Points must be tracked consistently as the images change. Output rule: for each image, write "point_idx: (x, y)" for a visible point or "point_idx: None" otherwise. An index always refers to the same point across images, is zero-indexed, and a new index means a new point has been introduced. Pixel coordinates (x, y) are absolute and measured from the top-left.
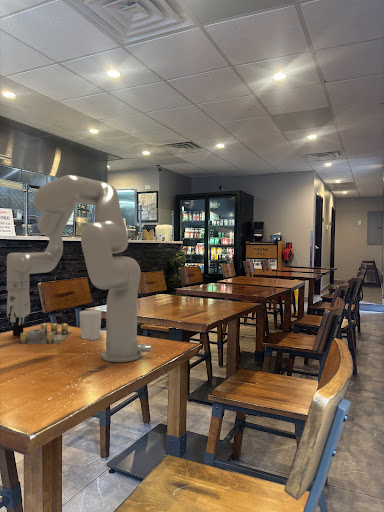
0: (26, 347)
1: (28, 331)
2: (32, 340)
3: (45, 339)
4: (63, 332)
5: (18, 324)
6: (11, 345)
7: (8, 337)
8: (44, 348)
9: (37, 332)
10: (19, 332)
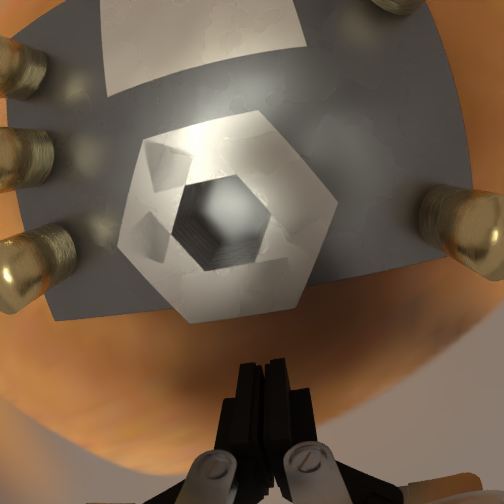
0: (501, 147)
1: (296, 304)
2: (376, 175)
3: (306, 62)
4: (42, 62)
5: (331, 461)
6: (467, 292)
7: None
8: (480, 17)
9: (302, 161)
10: (290, 392)
